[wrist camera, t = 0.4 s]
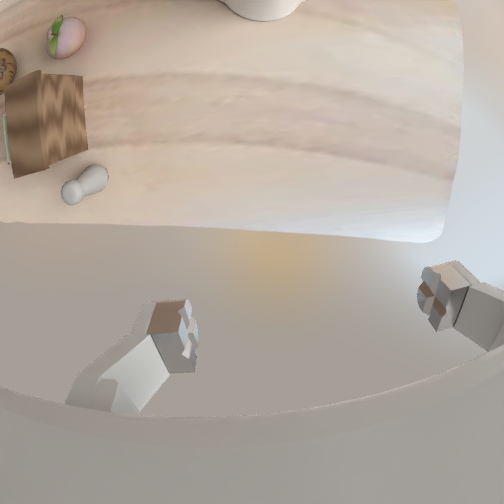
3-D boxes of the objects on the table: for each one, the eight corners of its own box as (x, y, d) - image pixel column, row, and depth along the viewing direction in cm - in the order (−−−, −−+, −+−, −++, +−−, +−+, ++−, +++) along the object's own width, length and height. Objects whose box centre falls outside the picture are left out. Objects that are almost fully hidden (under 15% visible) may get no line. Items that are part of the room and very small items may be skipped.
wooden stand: (14, 102, 40) (-33, 111, 25) (84, 74, 40) (36, 70, 26) (22, 168, 48) (-23, 191, 33) (90, 150, 48) (45, 169, 34)
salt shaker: (100, 194, 53) (69, 217, 41) (84, 174, 50) (50, 194, 39) (117, 176, 51) (87, 196, 40) (100, 156, 49) (67, 171, 38)
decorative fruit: (95, 52, 38) (70, 46, 29) (63, 65, 38) (36, 63, 29) (95, 15, 34) (71, 4, 25) (63, 29, 34) (37, 22, 25)
